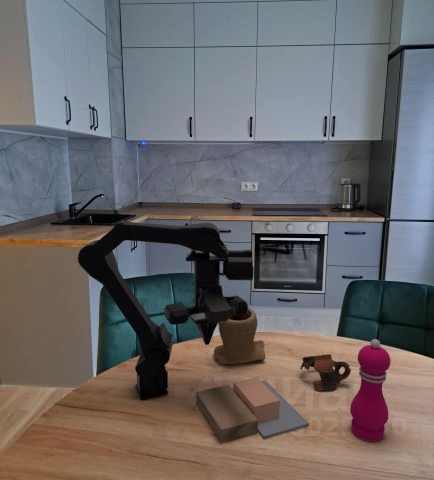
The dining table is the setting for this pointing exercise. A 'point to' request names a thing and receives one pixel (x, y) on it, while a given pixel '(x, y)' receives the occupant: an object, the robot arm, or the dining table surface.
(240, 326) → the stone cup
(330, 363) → the pottery mug
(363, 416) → the pepper mill
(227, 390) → the ledge
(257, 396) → the salmon pink block
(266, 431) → the mat
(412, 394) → the dining table surface
